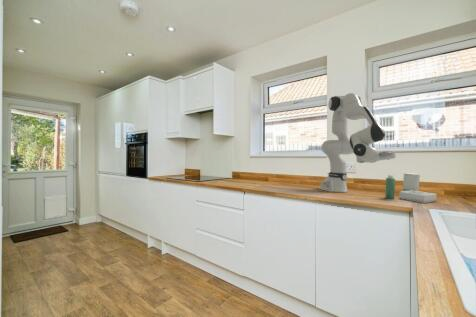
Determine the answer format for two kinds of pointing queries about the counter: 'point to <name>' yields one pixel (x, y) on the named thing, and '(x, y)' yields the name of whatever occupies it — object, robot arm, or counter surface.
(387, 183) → the green bottle
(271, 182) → the counter surface
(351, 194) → the counter surface
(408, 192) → the tray
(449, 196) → the counter surface
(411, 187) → the skincare box
